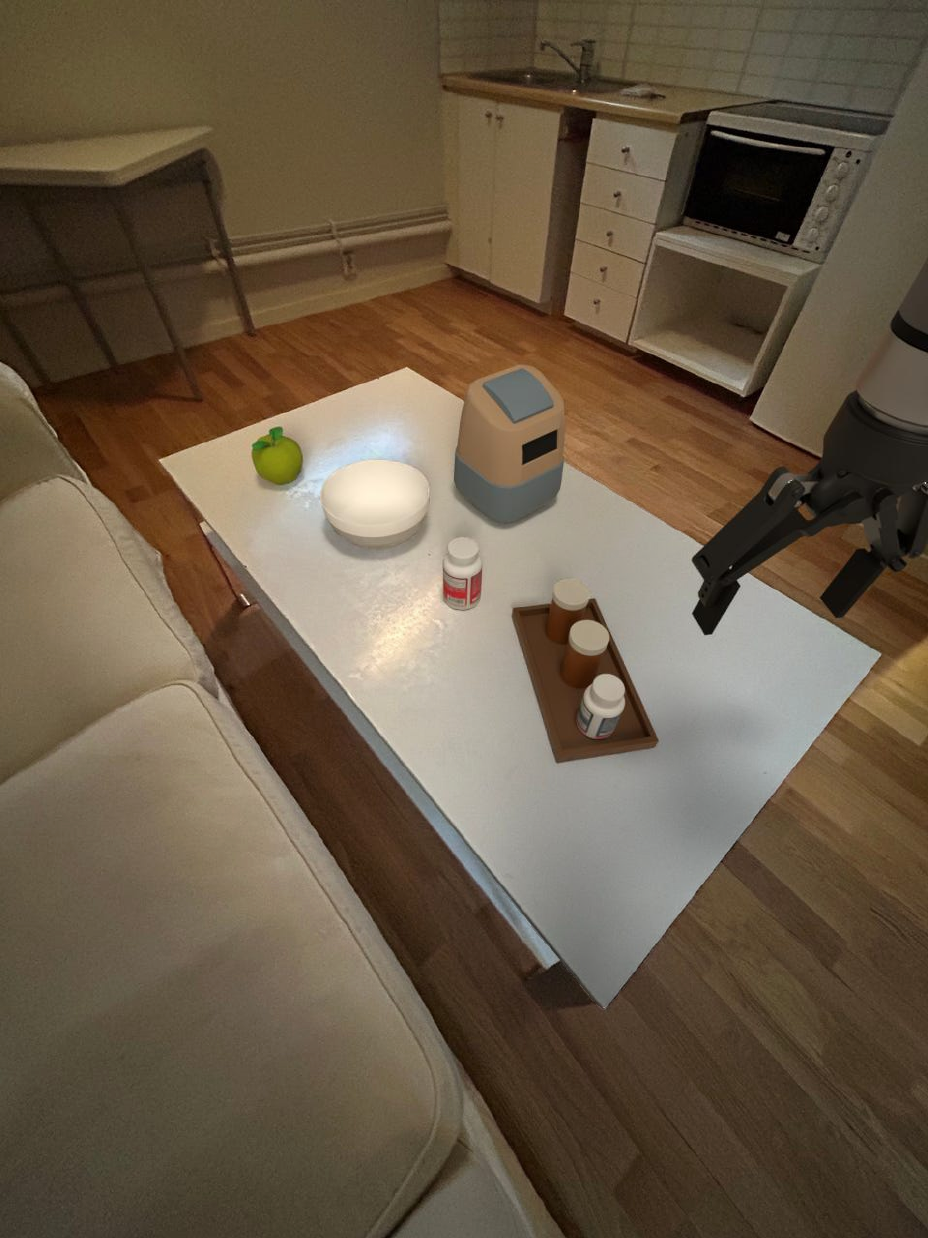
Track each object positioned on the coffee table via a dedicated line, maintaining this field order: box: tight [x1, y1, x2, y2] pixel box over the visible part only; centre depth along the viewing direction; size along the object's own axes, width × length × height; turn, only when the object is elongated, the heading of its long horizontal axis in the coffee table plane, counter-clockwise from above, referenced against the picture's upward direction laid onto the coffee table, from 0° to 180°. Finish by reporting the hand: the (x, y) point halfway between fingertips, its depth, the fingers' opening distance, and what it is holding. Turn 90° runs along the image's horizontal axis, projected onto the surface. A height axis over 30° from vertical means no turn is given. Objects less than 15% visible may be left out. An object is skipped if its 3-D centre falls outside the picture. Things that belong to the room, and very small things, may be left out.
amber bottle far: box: [546, 578, 591, 644], centre depth 80 cm, size 5×5×9 cm
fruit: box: [251, 426, 304, 486], centre depth 105 cm, size 9×9×10 cm
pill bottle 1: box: [442, 536, 484, 611], centre depth 85 cm, size 6×6×11 cm
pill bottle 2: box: [576, 674, 625, 739], centre depth 70 cm, size 5×5×9 cm
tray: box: [511, 597, 659, 764], centre depth 79 cm, size 26×14×2 cm, turn 10°
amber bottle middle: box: [560, 620, 609, 688], centre depth 75 cm, size 5×5×9 cm
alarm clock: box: [453, 363, 566, 524], centre depth 98 cm, size 17×17×23 cm
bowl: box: [319, 458, 431, 550], centre depth 96 cm, size 19×19×9 cm
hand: (767, 615), depth 52 cm, fingers open, 13 cm apart
